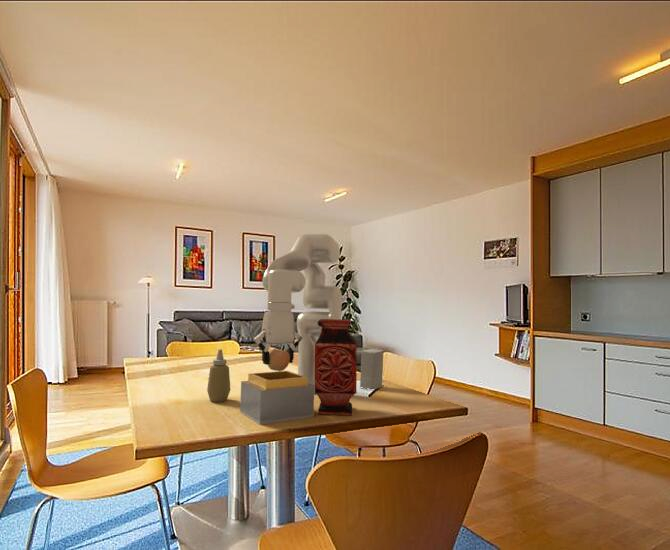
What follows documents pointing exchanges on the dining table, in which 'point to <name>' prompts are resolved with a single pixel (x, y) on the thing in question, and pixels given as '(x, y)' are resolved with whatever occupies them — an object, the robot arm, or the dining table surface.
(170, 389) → the dining table surface
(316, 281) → the robot arm
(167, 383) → the dining table surface
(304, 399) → the box
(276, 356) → the fruit
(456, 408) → the dining table surface
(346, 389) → the vase
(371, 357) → the skincare box
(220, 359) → the squeeze bottle
